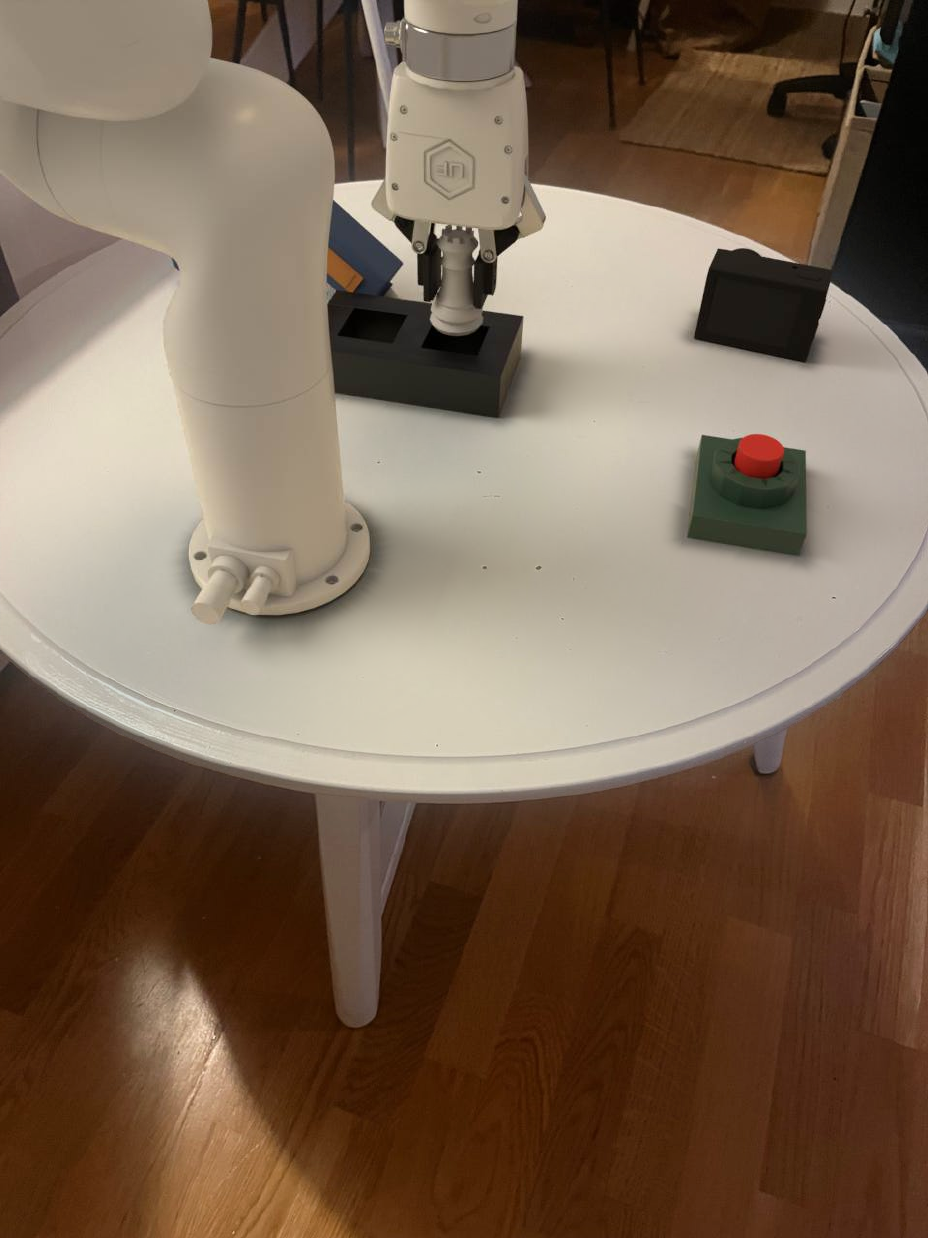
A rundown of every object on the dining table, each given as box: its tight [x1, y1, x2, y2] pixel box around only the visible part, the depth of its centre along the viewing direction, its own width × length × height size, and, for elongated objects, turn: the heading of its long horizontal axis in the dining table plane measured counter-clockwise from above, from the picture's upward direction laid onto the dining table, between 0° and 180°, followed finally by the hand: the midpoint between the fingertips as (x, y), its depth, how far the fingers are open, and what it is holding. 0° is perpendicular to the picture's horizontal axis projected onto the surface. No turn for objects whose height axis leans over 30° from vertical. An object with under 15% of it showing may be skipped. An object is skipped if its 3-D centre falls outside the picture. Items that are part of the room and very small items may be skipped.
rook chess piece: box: [430, 225, 484, 336], centre depth 79 cm, size 4×4×8 cm
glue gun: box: [170, 199, 404, 299], centre depth 91 cm, size 6×31×15 cm
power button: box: [734, 433, 784, 479], centre depth 71 cm, size 3×3×2 cm
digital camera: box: [693, 247, 834, 362], centre depth 88 cm, size 10×5×7 cm, turn 69°
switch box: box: [686, 434, 808, 557], centre depth 73 cm, size 10×8×4 cm
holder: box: [327, 290, 524, 419], centre depth 84 cm, size 10×17×4 cm, turn 77°
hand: (456, 295), depth 80 cm, fingers closed on rook chess piece, 3 cm apart
